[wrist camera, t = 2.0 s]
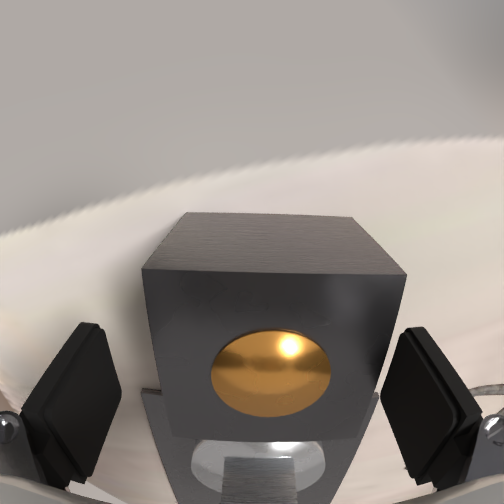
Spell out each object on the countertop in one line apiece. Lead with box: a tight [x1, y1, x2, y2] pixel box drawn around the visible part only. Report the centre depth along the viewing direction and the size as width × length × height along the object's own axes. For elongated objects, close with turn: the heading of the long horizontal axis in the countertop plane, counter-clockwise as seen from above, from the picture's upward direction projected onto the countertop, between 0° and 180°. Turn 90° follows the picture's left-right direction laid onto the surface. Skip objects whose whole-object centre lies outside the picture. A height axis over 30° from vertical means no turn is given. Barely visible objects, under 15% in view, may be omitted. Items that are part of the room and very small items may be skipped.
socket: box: [141, 213, 407, 442], centre depth 12 cm, size 7×7×6 cm
